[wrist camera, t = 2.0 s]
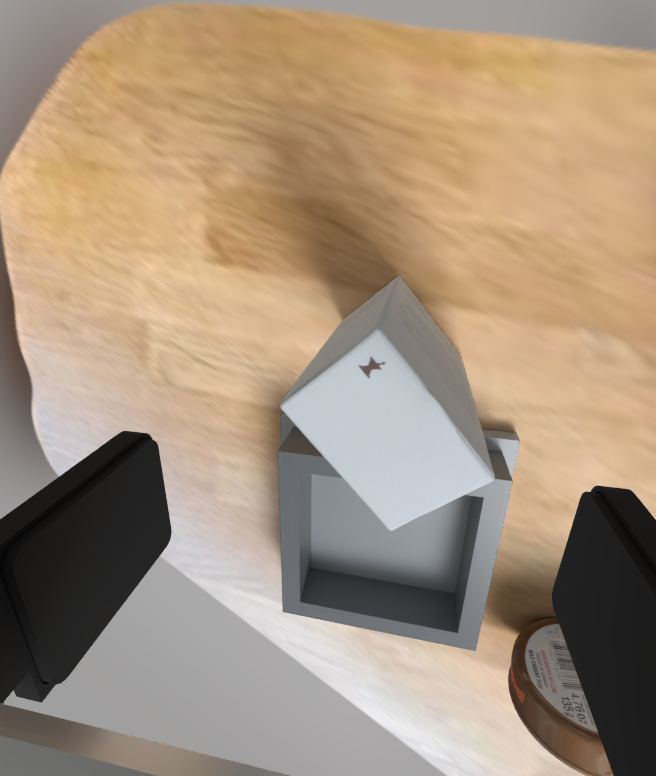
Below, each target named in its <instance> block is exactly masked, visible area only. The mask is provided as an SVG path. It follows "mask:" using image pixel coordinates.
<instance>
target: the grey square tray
mask: <svg viewBox="0 0 656 776" xmlns="http://www.w3.org/2000/svg"><path fill="white" fill-rule="evenodd" d="M482 431H483V435H484V439H485V442H486V446H487V450H488V454H489V457H490V461H491V464H492V468H493V471H494V475H495V479H494V481H493V482H491V483H489V484H487V485H484V486H482V487H480V488H478V489H476V490H474V491H472V492H470V493H467V494H465V495H463V496H461V497H459V498H457V499H455V500H453V501H451V502H449V503H447V504H445V505H443V506H441V507H439V508H437V509H435V510H432V511H430V512H428V513H426V514H424V515H422V516H420V517H418V518H416V519H414V520H412V521H410V522H408V523H406V524H404V525H402V526H400V527H398V528H397V529H395V530H393V531H389V530H388V529H387V528H386V526H385V525H384V524H383V523H382V521H381V520H380V519H379V518H378V517H377V516H376V515H375V513H374V512H373V511H372V510H371V509H370V508H369V507H368V505H367V504H366V503H365V502H364V501H363V500H362V499H361V498H360V497H359V495H358V494H357V493H356V492H355V491H354V490H353V489H352V488H351V486H350V485H349V484H348V483H347V482H346V481H345V480H344V479H343V477H342V476H341V475H340V474H339V473H338V472H337V471H336V470H335V469H334V468H333V466H332V465H331V464H330V463H329V462H328V461H327V460H326V459H325V458H324V456H323V455H322V454H321V453H320V452H319V451H318V450H317V449H316V448H315V446H314V445H313V444H312V443H311V442H310V441H309V440H308V439H307V437H306V436H305V435H304V434H303V433H302V432H301V431H300V429H299V428H298V427H297V426H296V425H295V424H294V423H293V422H292V420H291V419H290V418H289V417H288V416H287V415H286V414H285V412H284V411H283V412H282V413H281V447H280V449H279V450H278V469H279V502H280V535H281V568H282V601H283V612H286V613H291V614H296V615H301V616H306V617H311V618H315V619H320V620H325V621H330V622H335V623H340V624H345V625H350V626H355V627H360V628H365V629H370V630H375V631H380V632H384V633H389V634H394V635H399V636H404V637H409V638H414V639H419V640H424V641H429V642H434V643H439V644H444V645H448V646H453V647H458V648H463V649H468V650H473V651H476V646H477V642H478V637H479V633H480V628H481V624H482V619H483V614H484V610H485V605H486V601H487V596H488V592H489V587H490V582H491V578H492V573H493V569H494V564H495V560H496V555H497V550H498V546H499V541H500V537H501V532H502V528H503V523H504V518H505V514H506V509H507V505H508V500H509V496H510V491H511V486H512V482H513V481H512V475H513V470H514V465H515V461H516V456H517V451H518V447H519V442H520V440H519V438H518V436H517V433H515V432H506V431H496V430H487V429H482Z"/></svg>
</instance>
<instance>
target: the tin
mask: <svg viewBox="0 0 656 776" xmlns="http://www.w3.org/2000/svg"><path fill="white" fill-rule="evenodd" d="M508 683H509V692H510V696H511V699H512V702H513V704H514V707H515V709H516V711H517V713H518V715H519V717H520V719H521V720H522V722H523V723H524V725H525V726H526V727H527V729H528V730H529V732H530V733H531V734H532V735H533V737H534V738H535V739H536V740H537V741H538V742H539V743H540V744H541V745H542V746H543V747H544V748H545V749H546V750H547V751H549V752H550V753H551V754H552V755H553V756H555V757H556V758H557V759H559V760H560V761H561V762H563V763H564V764H566V765H567V766H569V767H571V768H572V769H574V770H576V771H578V772H580V773H582V774H584V775H586V776H614V775H613V773H612V770H611V767H610V764H609V762H608V759H607V756H606V753H605V750H604V748H603V745H602V742H601V739H600V737H599V734H598V731H597V728H596V725H595V723H594V720H593V717H592V714H591V712H590V709H589V706H588V703H587V700H586V698H585V695H584V692H583V689H582V687H581V684H580V681H579V678H578V675H577V673H576V670H575V667H574V664H573V662H572V659H571V656H570V653H569V650H568V648H567V645H566V642H565V639H564V637H563V634H562V631H561V628H560V625H559V623H558V620H557V618H546V619H542V620H538V621H535V622H533V623H531V624H530V625H528V626H527V627H525V628H524V629H523V630H522V631H521V633H520V634H519V635H518V637H517V639H516V641H515V644H514V647H513V652H512V659H511V666H510V670H509V676H508Z"/></svg>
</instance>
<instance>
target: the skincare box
mask: <svg viewBox="0 0 656 776" xmlns="http://www.w3.org/2000/svg"><path fill="white" fill-rule="evenodd" d="M280 408H281V409H282V410H283V411H284V412H285V414H286V415H287V416H288V417H289V418H290V419H291V420H292V422H293V423H294V424H295V425H296V426H297V427H298V428H299V429H300V431H301V432H302V433H303V434H304V435H305V436H306V437H307V439H308V440H309V441H310V442H311V443H312V444H313V445H314V446H315V448H316V449H317V450H318V451H319V452H320V453H321V454H322V455H323V456H324V458H325V459H326V460H327V461H328V462H329V463H330V464H331V465H332V466H333V468H334V469H335V470H336V471H337V472H338V473H339V474H340V475H341V476H342V477H343V479H344V480H345V481H346V482H347V483H348V484H349V485H350V486H351V488H352V489H353V490H354V491H355V492H356V493H357V494H358V495H359V497H360V498H361V499H362V500H363V501H364V502H365V503H366V504H367V505H368V507H369V508H370V509H371V510H372V511H373V512H374V513H375V515H376V516H377V517H378V518H379V519H380V520H381V521H382V523H383V524H384V525H385V526H386V528H387V529H388V530H389V531H393V530H395V529H397V528H398V527H400V526H402V525H404V524H406V523H408V522H410V521H412V520H414V519H416V518H418V517H420V516H422V515H424V514H426V513H428V512H430V511H432V510H435V509H437V508H439V507H441V506H443V505H445V504H447V503H449V502H451V501H453V500H455V499H457V498H459V497H461V496H463V495H465V494H467V493H470V492H472V491H474V490H476V489H478V488H480V487H482V486H484V485H487V484H489V483H491V482H493V481H494V479H495V475H494V471H493V468H492V464H491V461H490V457H489V454H488V450H487V446H486V442H485V439H484V435H483V431H482V428H481V424H480V420H479V417H478V414H477V410H476V407H475V403H474V399H473V396H472V392H471V389H470V385H469V382H468V378H467V375H466V371H465V367H464V364H463V360H462V357H461V356H460V354H459V353H458V352H457V350H456V349H455V348H454V346H453V345H452V344H451V342H450V341H449V340H448V338H447V337H446V336H445V334H444V333H443V332H442V330H441V329H440V328H439V326H438V325H437V324H436V322H435V321H434V320H433V318H432V317H431V316H430V315H429V313H428V312H427V311H426V309H425V308H424V307H423V305H422V304H421V303H420V301H419V300H418V299H417V297H416V296H415V295H414V293H413V292H412V291H411V290H410V288H409V287H408V286H407V284H406V283H405V282H404V280H403V279H402V278H401V276H397V277H396V278H395V279H394V280H392V281H391V282H390V283H389V284H387V285H386V286H385V287H383V288H382V289H381V290H380V291H378V292H377V293H376V294H374V295H373V296H372V297H371V298H369V299H368V300H367V301H366V302H364V303H363V304H362V305H361V306H360V307H358V308H357V309H356V310H355V311H354V312H352V313H351V314H350V315H349V316H347V317H346V318H345V319H344V320H343V321H342V322H341V323H340V324H339V326H338V327H337V328H336V330H335V331H334V332H333V333H332V335H331V336H330V337H329V339H328V340H327V341H326V343H325V344H324V345H323V347H322V348H321V349H320V351H319V352H318V353H317V355H316V356H315V357H314V359H313V360H312V361H311V363H310V364H309V365H308V366H307V368H306V369H305V370H304V372H303V373H302V374H301V376H300V377H299V378H298V380H297V381H296V383H295V384H294V385H293V387H292V388H291V389H290V390H289V392H288V393H287V394H286V395H285V397H284V398H283V400H282V401H281V403H280Z"/></svg>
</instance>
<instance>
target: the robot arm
mask: <svg viewBox="0 0 656 776" xmlns="http://www.w3.org/2000/svg"><path fill="white" fill-rule="evenodd" d="M170 538H171V524H170V518H169V512H168V505H167V499H166V493H165V486H164V480H163V474H162V467H161V461H160V455H159V448H158V444H157V443H156V441H154V440H152V437H151V436H150V435H149V434H147V433H139V432H130V431H123V432H121V433H119V434H118V435H116V436H115V437H114V438H112V439H111V440H109V441H108V442H107V443H105V444H104V445H102V446H101V447H100V448H98V449H97V450H96V451H94V452H93V453H91V454H90V455H89V456H87V457H86V458H85V459H83V460H82V461H80V462H79V463H78V464H76V465H75V466H73V467H72V468H71V469H69V470H68V471H67V472H65V473H64V474H62V475H61V476H60V477H58V478H57V479H56V480H54V481H53V482H51V483H50V484H49V485H47V486H46V487H44V488H43V489H42V490H40V491H39V492H38V493H36V494H35V495H33V496H32V497H31V498H29V499H28V500H27V501H25V502H24V503H22V504H21V505H20V506H18V507H17V508H15V509H14V510H13V511H11V512H10V513H9V514H7V515H6V516H5V517H3V518H2V519H0V776H289V775H285V774H281V773H277V772H273V771H269V770H266V769H262V768H257V767H254V766H250V765H246V764H242V763H238V762H234V761H230V760H226V759H222V758H218V757H214V756H210V755H206V754H202V753H198V752H194V751H190V750H186V749H182V748H178V747H174V746H170V745H167V744H163V743H159V742H155V741H150V740H147V739H143V738H138V737H134V736H130V735H126V734H122V733H118V732H114V731H110V730H106V729H102V728H97V727H93V726H90V725H85V724H82V723H77V722H73V721H69V720H65V719H61V718H57V717H53V716H48V715H45V714H41V713H37V712H33V711H29V710H24V709H20V708H16V707H12V706H8V705H4V701H5V699H6V698H7V697H8V696H9V695H10V693H11V692H12V691H13V690H14V692H15V694H16V696H18V697H21V698H25V699H29V700H34V701H38V702H42V701H43V700H44V699H45V698H46V696H47V695H48V694H49V692H50V691H51V690H52V688H53V687H54V686H55V685H56V684H59V683H62V682H63V681H64V680H65V679H66V678H67V677H68V676H69V675H70V674H71V672H72V671H73V670H74V668H75V667H76V666H77V664H78V663H79V661H80V660H81V659H82V658H83V656H84V655H85V654H86V652H87V651H88V650H89V648H90V647H91V646H92V644H93V643H94V642H95V640H96V639H97V638H98V636H99V635H100V634H101V633H102V631H103V630H104V629H105V627H106V626H107V625H108V623H109V622H110V621H111V619H112V618H113V617H114V615H115V614H116V612H117V611H118V610H119V609H120V607H121V606H122V605H123V603H124V602H125V601H126V600H127V598H128V597H129V596H130V594H131V593H132V592H133V590H134V589H135V588H136V586H137V585H138V584H139V582H140V581H141V580H142V578H143V577H144V576H145V574H146V573H147V572H148V570H149V569H150V568H151V566H152V565H153V564H154V563H155V561H156V560H157V559H158V557H159V556H160V555H161V553H162V552H163V551H164V549H165V548H166V547H167V545H168V543H169V541H170ZM552 603H553V608H554V612H555V614H556V617H557V620H558V623H559V625H560V628H561V631H562V634H563V637H564V639H565V642H566V645H567V648H568V650H569V653H570V656H571V659H572V662H573V664H574V667H575V670H576V673H577V675H578V678H579V681H580V684H581V687H582V689H583V692H584V695H585V698H586V700H587V703H588V706H589V709H590V712H591V714H592V717H593V720H594V723H595V725H596V728H597V731H598V734H599V737H600V739H601V742H602V745H603V748H604V750H605V753H606V756H607V759H608V762H609V764H610V767H611V770H612V773H613V775H614V776H656V520H655V518H654V517H653V516H652V515H651V514H650V512H649V511H648V510H647V509H646V507H645V506H644V505H643V504H642V502H641V501H640V500H639V499H638V497H637V496H636V495H635V494H634V493H633V492H632V491H631V490H628V489H622V488H613V487H604V486H595V487H594V488H593V489H592V490H591V492H584V493H583V494H582V496H581V498H580V501H579V505H578V508H577V511H576V515H575V518H574V521H573V525H572V528H571V531H570V535H569V538H568V541H567V545H566V548H565V551H564V555H563V558H562V561H561V564H560V568H559V571H558V574H557V578H556V581H555V584H554V588H553V592H552Z"/></svg>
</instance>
